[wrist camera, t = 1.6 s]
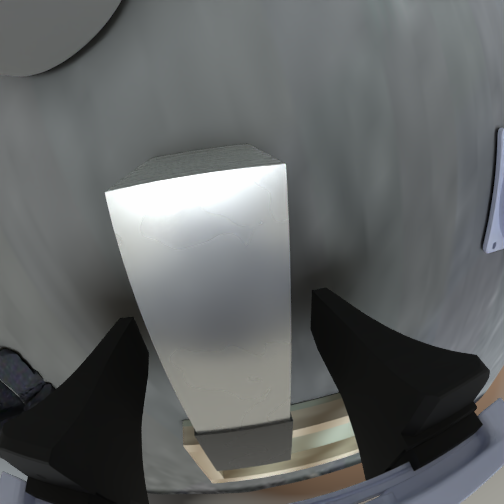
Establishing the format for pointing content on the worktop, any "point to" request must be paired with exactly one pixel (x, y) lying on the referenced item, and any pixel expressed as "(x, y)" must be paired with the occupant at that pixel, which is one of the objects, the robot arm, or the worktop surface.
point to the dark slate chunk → (19, 387)
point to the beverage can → (47, 32)
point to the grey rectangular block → (215, 292)
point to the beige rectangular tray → (303, 441)
